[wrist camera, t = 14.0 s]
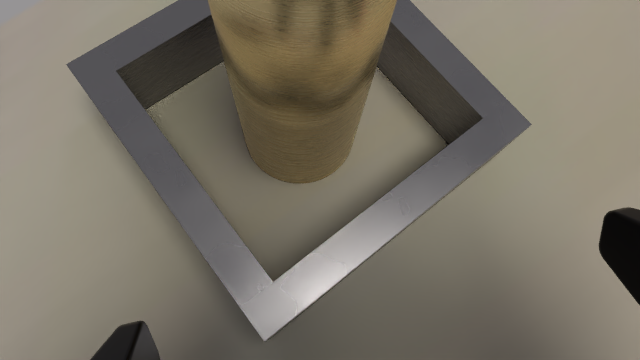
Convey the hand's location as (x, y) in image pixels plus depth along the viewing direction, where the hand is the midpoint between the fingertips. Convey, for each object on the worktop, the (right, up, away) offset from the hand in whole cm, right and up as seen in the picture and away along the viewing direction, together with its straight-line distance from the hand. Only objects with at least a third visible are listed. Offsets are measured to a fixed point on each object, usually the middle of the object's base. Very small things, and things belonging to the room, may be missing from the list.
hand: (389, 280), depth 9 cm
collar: (-2, +4, +10) cm, 11 cm away
